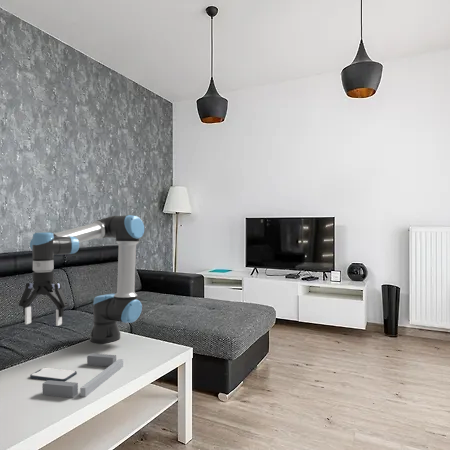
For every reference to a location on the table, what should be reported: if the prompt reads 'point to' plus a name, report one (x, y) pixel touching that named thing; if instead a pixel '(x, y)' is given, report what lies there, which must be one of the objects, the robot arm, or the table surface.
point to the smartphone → (53, 374)
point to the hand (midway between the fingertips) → (43, 324)
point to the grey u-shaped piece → (72, 388)
